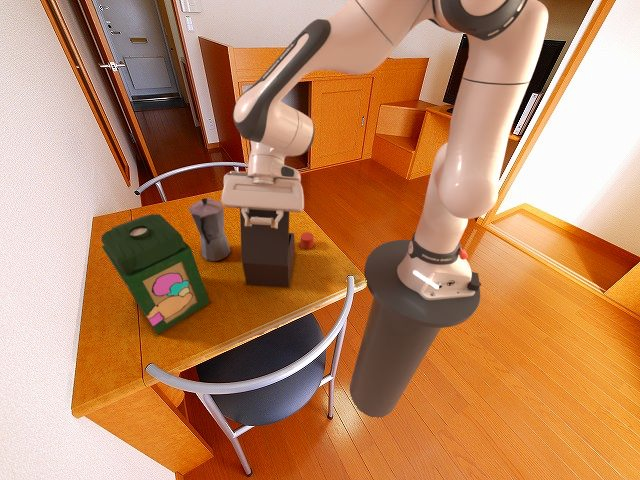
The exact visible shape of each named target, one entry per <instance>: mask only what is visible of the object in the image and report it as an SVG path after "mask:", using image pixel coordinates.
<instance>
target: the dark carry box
mask: <svg viewBox="0 0 640 480" xmlns="http://www.w3.org/2000/svg"><path fill="white" fill-rule="evenodd" d="M295 243H296V242H295V233H294V232H289V249H288V266H287V265H271V264H256V263H242V262H241V264H242V269H243V274H244V279H245V285H251V286H264V287H265V286H266V287H279V288H281V287H282V288H289V287H290V283H291V279H292V278H291V277H292V273H293V265H294V261H295V255H296V253H295V251H296V250H295V249H296V247H295Z"/></svg>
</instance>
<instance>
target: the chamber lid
mask: <svg viewBox="0 0 640 480" xmlns="http://www.w3.org/2000/svg"><path fill="white" fill-rule="evenodd" d="M276 212H277V211H270V210H254V209H249V213H247V215H248V218H249V219H250V223H251V224H252V227H245V219H244V216H243V214H242V212H241V209H239V219H240V222H239V223H240V225H239V226H240V255H241V264H242V263H256V264H271V265H287V266H288V249H289V233H290V212H285V211H283V217H282V218H281V219H280V221H279V222H278V229H272V228H271V221H275V219H276V218H277V216H278V215H277V214H276Z"/></svg>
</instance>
